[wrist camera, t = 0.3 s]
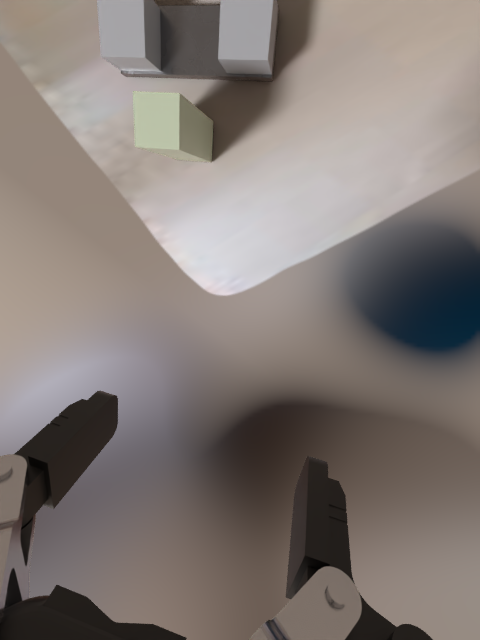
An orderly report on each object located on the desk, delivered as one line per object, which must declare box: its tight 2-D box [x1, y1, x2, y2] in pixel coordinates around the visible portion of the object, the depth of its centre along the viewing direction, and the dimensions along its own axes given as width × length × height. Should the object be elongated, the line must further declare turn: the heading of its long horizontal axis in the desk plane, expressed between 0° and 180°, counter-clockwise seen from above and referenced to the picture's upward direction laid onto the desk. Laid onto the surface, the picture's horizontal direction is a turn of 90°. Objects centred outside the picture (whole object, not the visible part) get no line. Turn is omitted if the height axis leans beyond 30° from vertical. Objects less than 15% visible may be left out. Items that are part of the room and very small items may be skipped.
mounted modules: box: [97, 0, 278, 75], centre depth 30 cm, size 5×16×4 cm, turn 85°
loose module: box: [133, 91, 213, 162], centre depth 31 cm, size 4×4×10 cm
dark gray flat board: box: [121, 5, 279, 81], centre depth 32 cm, size 6×16×1 cm, turn 85°
